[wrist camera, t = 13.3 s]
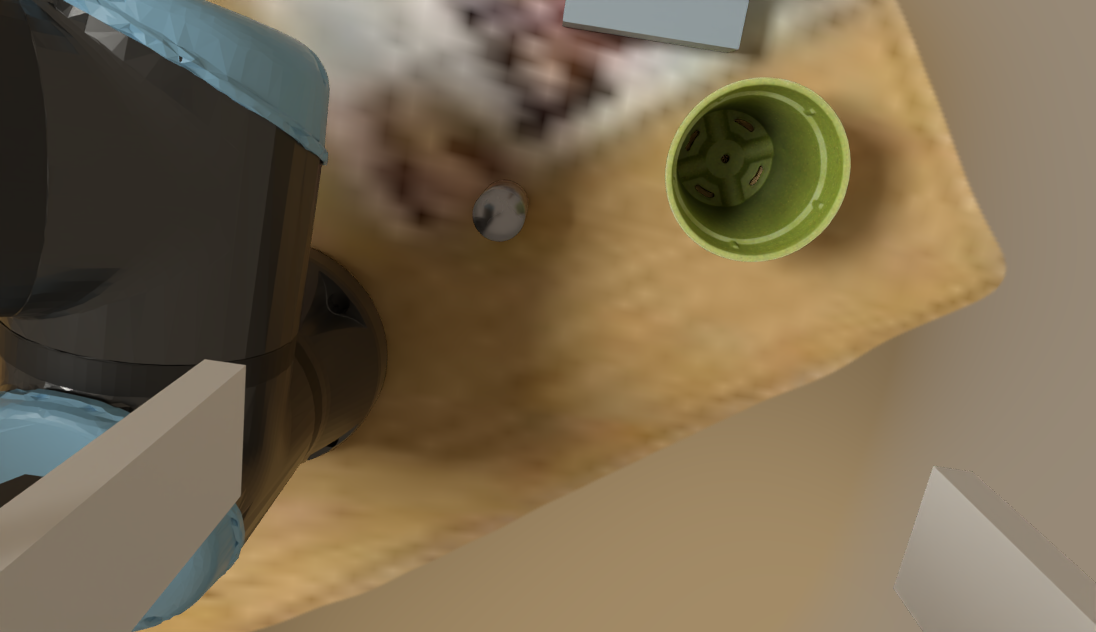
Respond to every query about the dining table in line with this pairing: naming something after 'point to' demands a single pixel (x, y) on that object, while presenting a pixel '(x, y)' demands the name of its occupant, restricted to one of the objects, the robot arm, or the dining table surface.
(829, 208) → the plant pot
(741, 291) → the dining table surface
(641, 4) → the square grey frame
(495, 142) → the dining table surface
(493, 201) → the short pin
